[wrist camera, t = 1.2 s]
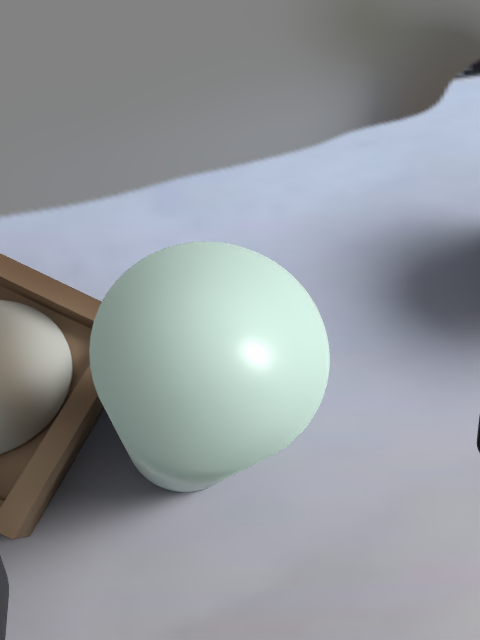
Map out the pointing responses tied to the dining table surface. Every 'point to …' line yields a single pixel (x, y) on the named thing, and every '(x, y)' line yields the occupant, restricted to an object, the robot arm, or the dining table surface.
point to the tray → (41, 390)
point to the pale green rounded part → (207, 362)
